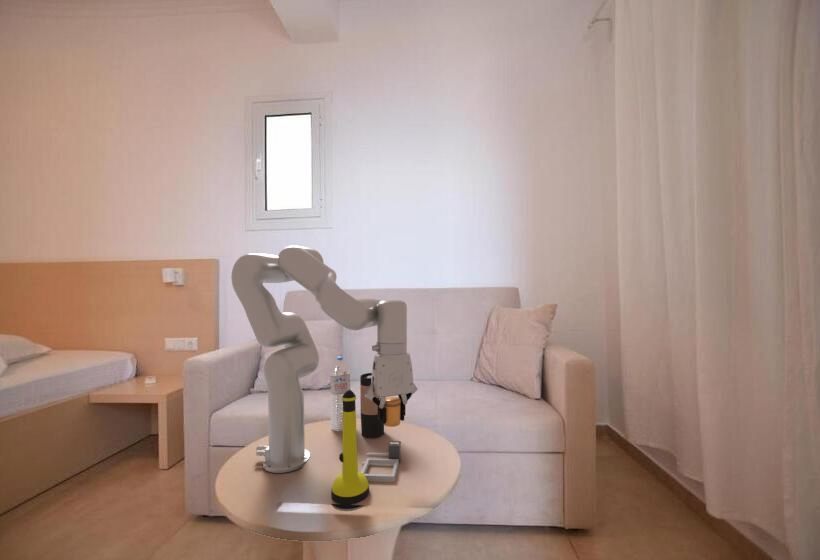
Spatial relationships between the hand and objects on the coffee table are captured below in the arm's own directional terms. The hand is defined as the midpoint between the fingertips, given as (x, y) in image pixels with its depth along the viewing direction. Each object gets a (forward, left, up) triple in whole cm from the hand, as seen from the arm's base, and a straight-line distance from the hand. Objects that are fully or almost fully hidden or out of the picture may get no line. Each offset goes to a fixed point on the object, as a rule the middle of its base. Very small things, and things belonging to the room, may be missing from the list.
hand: (391, 419), depth 90 cm
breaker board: (-6, +3, -15) cm, 16 cm away
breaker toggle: (0, +7, -13) cm, 15 cm away
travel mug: (-10, +23, -15) cm, 30 cm away
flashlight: (-8, -9, -15) cm, 19 cm away
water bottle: (-22, +28, -15) cm, 39 cm away
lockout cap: (0, 0, -1) cm, 1 cm away
